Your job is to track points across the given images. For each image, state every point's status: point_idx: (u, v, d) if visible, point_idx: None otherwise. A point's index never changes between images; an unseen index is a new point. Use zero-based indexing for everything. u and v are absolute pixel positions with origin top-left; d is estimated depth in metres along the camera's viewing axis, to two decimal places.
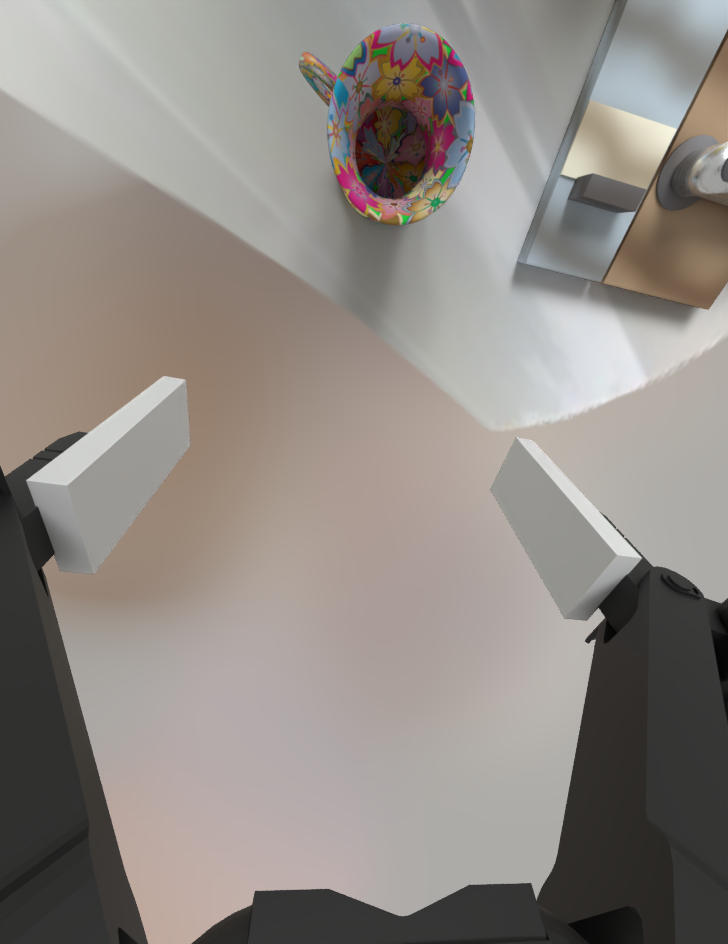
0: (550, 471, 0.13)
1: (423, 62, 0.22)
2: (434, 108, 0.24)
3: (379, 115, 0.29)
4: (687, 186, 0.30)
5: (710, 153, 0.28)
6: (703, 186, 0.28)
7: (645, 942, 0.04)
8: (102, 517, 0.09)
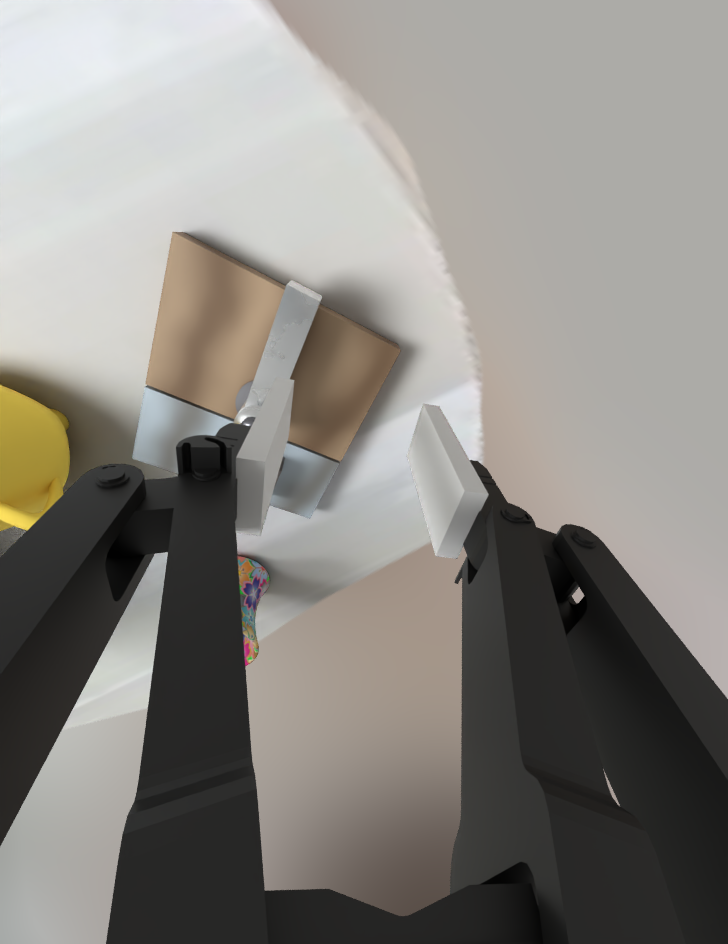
0: (441, 429, 0.14)
1: None
2: None
3: None
4: None
5: None
6: None
7: (539, 901, 0.04)
8: (267, 490, 0.11)
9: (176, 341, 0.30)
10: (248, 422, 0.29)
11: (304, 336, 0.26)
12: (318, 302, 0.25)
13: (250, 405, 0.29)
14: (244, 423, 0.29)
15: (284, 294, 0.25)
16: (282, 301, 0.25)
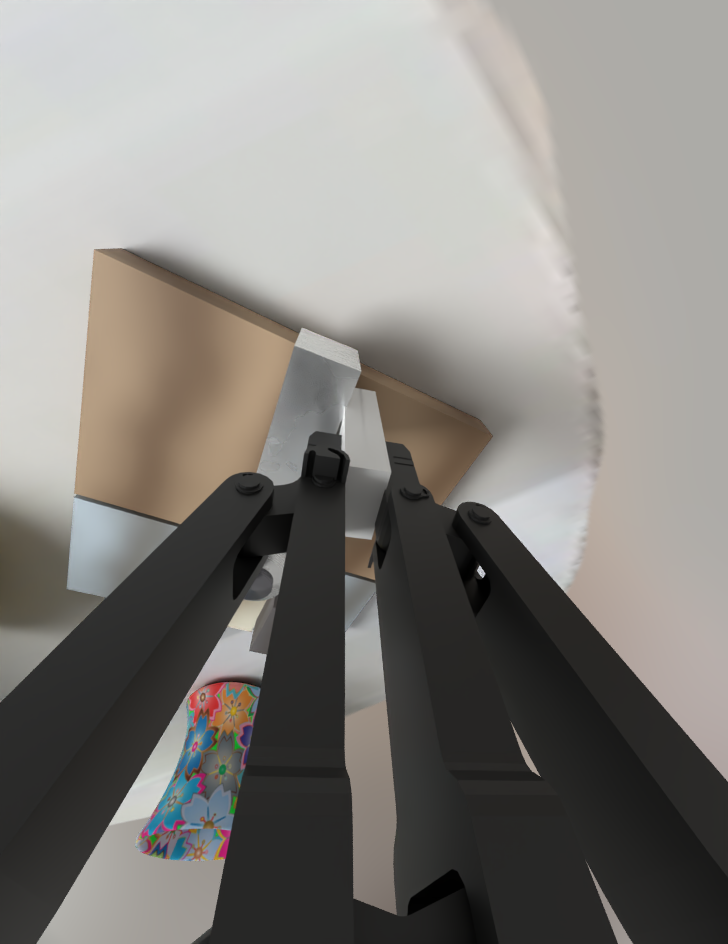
0: (366, 412, 0.14)
1: None
2: None
3: None
4: None
5: None
6: None
7: (472, 914, 0.04)
8: None
9: (119, 431, 0.17)
10: None
11: (332, 432, 0.14)
12: (358, 372, 0.13)
13: None
14: None
15: (291, 364, 0.13)
16: (288, 377, 0.13)
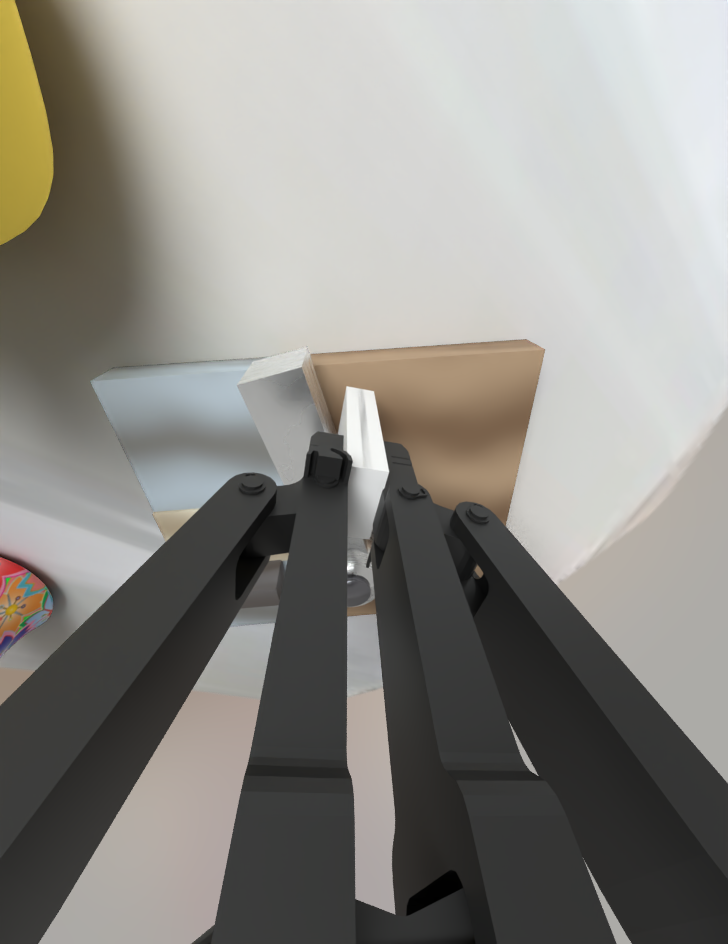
0: (365, 412, 0.14)
1: None
2: None
3: None
4: None
5: None
6: None
7: (471, 914, 0.04)
8: None
9: (384, 395, 0.17)
10: None
11: None
12: (300, 370, 0.13)
13: None
14: None
15: (246, 401, 0.13)
16: (252, 412, 0.14)
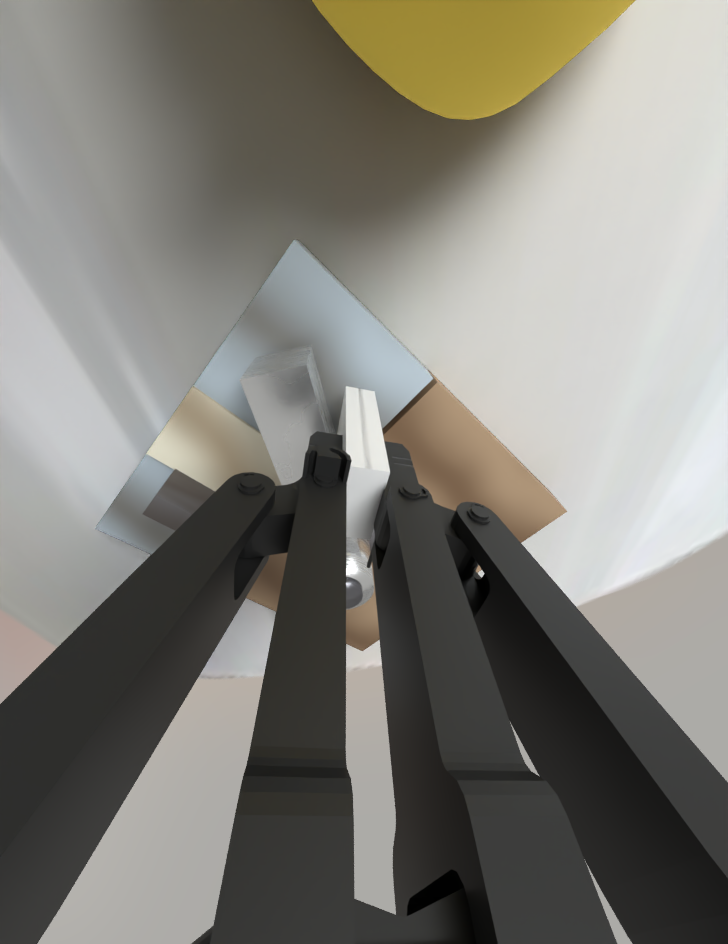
0: (366, 412, 0.14)
1: None
2: None
3: None
4: None
5: None
6: None
7: (471, 914, 0.04)
8: None
9: (471, 461, 0.20)
10: None
11: (322, 431, 0.14)
12: (304, 368, 0.13)
13: None
14: None
15: (248, 396, 0.13)
16: (253, 408, 0.13)
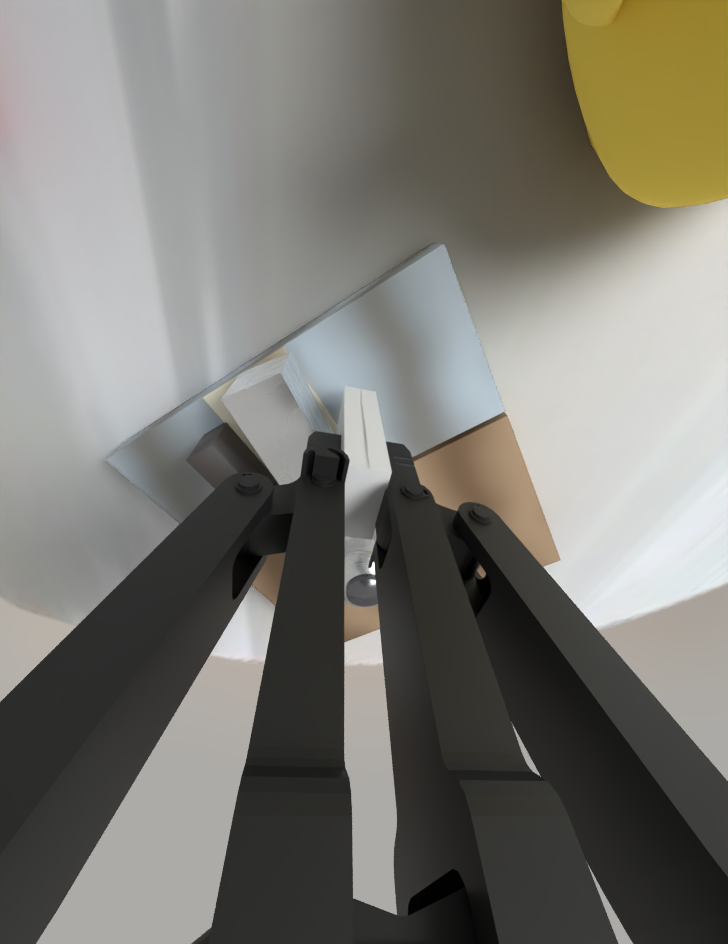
0: (367, 412, 0.14)
1: None
2: None
3: None
4: None
5: None
6: None
7: (472, 914, 0.04)
8: None
9: (503, 494, 0.21)
10: (353, 590, 0.17)
11: None
12: (279, 375, 0.13)
13: None
14: (350, 594, 0.17)
15: (233, 413, 0.13)
16: (240, 424, 0.14)
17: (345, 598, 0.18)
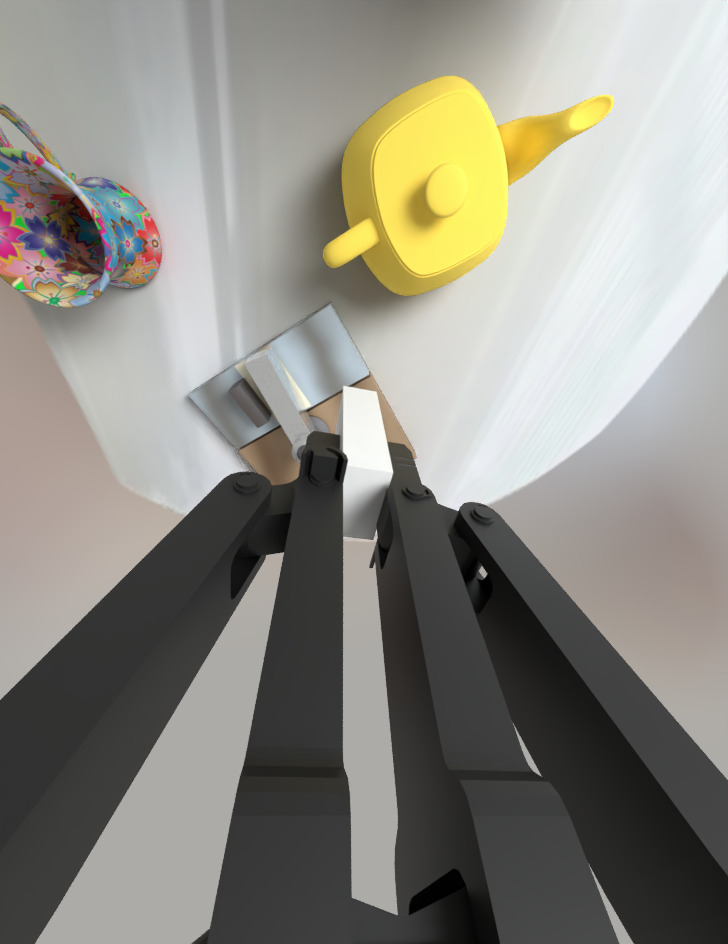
0: (368, 412, 0.14)
1: None
2: None
3: None
4: None
5: None
6: None
7: (473, 913, 0.04)
8: None
9: None
10: (299, 452, 0.39)
11: (278, 379, 0.36)
12: (265, 355, 0.35)
13: (294, 442, 0.40)
14: (298, 454, 0.39)
15: (248, 369, 0.35)
16: (251, 374, 0.36)
17: (297, 459, 0.40)
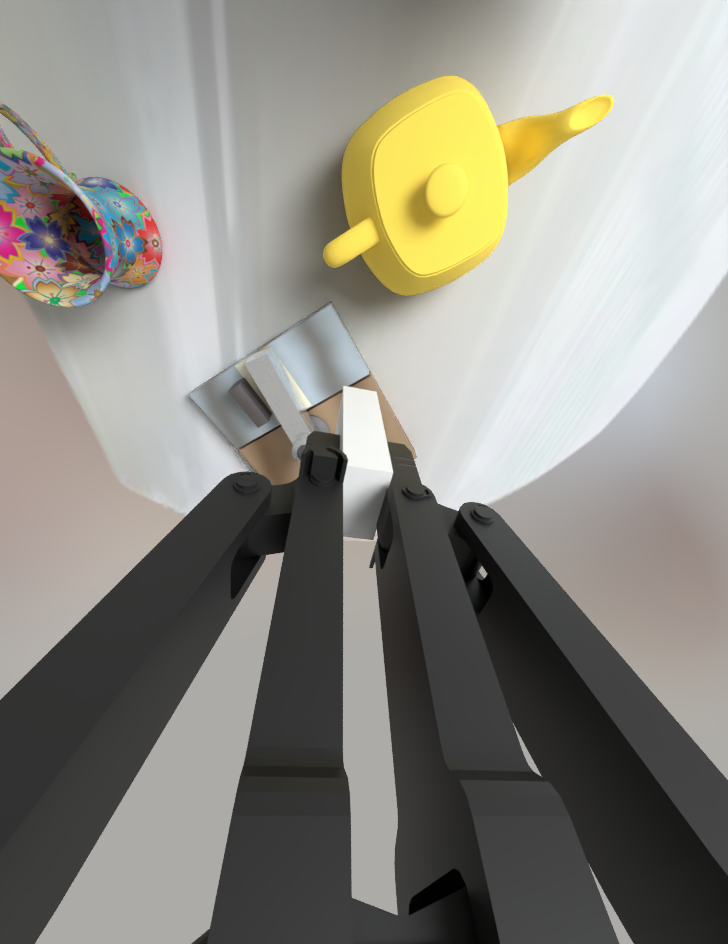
0: (368, 413, 0.14)
1: None
2: None
3: None
4: None
5: None
6: None
7: (473, 913, 0.04)
8: None
9: None
10: (299, 451, 0.39)
11: (278, 378, 0.36)
12: (266, 354, 0.35)
13: (294, 441, 0.40)
14: (298, 454, 0.40)
15: (248, 369, 0.36)
16: (251, 373, 0.36)
17: (297, 458, 0.40)
